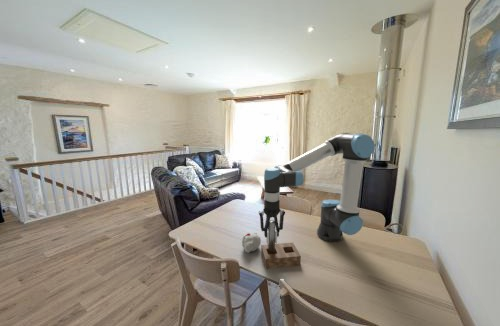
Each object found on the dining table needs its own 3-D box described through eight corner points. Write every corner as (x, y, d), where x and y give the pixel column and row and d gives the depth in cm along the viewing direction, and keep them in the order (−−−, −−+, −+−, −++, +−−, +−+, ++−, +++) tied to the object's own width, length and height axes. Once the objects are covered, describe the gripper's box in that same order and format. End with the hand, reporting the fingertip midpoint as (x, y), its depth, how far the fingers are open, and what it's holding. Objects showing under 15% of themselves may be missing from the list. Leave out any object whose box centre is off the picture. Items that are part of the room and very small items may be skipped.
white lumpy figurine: (246, 257, 108) (238, 245, 122) (265, 252, 112) (255, 241, 126) (245, 241, 107) (237, 230, 121) (264, 236, 111) (254, 227, 125)
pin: (274, 246, 107) (274, 219, 105) (275, 250, 104) (276, 223, 101) (267, 246, 107) (267, 220, 104) (268, 250, 103) (268, 223, 101)
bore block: (292, 250, 114) (293, 242, 113) (300, 264, 102) (300, 256, 101) (261, 253, 112) (261, 245, 111) (265, 268, 100) (265, 259, 99)
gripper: (286, 195, 105) (285, 237, 109) (254, 197, 103) (254, 239, 107) (290, 201, 98) (289, 245, 102) (256, 203, 96) (256, 247, 100)
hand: (271, 242), depth 105 cm, fingers closed on pin, 3 cm apart
